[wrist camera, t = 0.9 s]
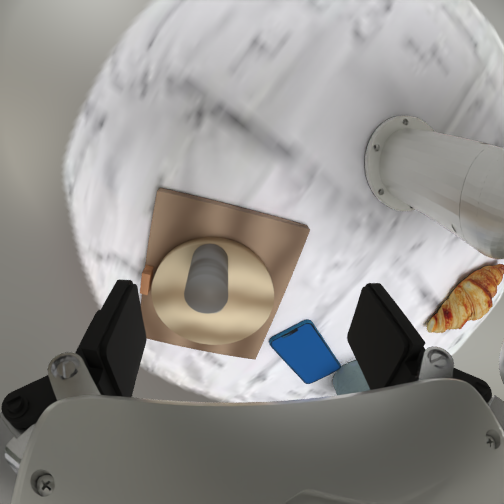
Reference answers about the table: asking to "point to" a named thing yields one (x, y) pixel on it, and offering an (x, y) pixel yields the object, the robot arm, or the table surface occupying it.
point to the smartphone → (305, 352)
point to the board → (223, 226)
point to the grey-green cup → (350, 379)
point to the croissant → (468, 299)
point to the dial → (212, 291)
